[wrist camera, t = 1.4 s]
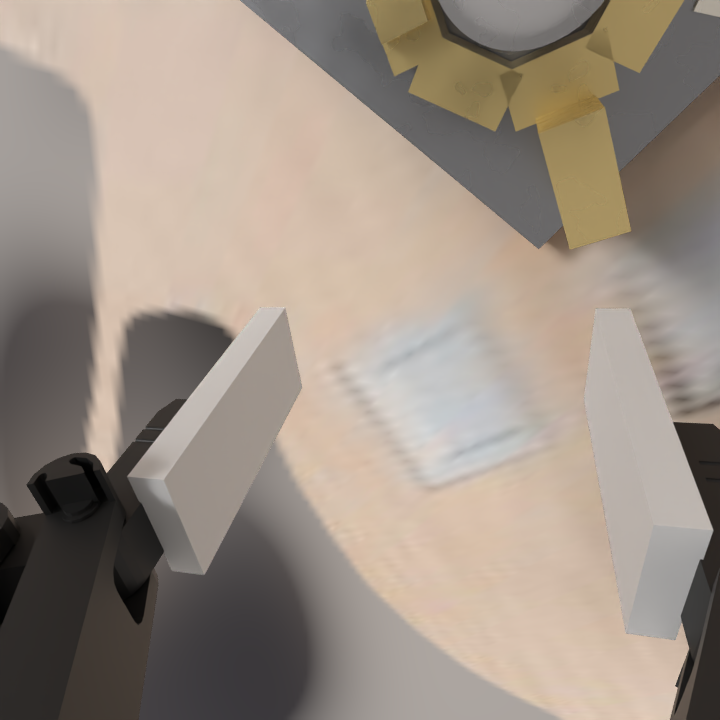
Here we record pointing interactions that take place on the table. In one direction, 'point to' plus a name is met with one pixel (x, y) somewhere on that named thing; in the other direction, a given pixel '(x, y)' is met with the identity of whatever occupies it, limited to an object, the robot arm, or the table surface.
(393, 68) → the tan handled ring
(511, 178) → the flange plate
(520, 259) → the table surface
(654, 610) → the robot arm
